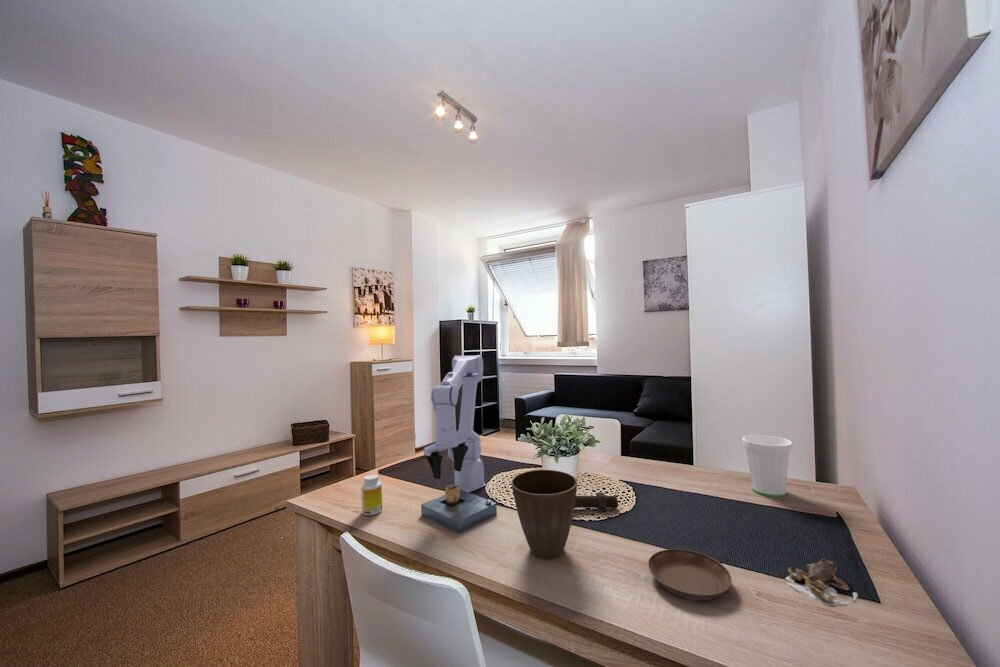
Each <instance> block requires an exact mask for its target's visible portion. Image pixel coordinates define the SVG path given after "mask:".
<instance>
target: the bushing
mask: <svg viewBox="0 0 1000 667" xmlns="http://www.w3.org/2000/svg"><path fill="white" fill-rule="evenodd" d="M444 492H445V494H444V495H445V499H446V505H448V506H450V507H453V506H455V505H458V504H460V494H459V486H458V485H455V484H449V485H447V486H445V488H444Z"/></svg>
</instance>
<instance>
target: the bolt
mask: <svg viewBox="0 0 1000 667" xmlns="http://www.w3.org/2000/svg"><path fill="white" fill-rule="evenodd" d="M618 507H619V499H618V497H617V496H616V495H605V493H604V492H601V491H599V492H597V493H596V494H595V495H576V499H575V507H574V509H577V508H578V509H580V508H581V509H582V508H587V509H590V508H591V509H597V510H598V511H599V512H605V511H606V510H607V509H608V508H610V509H617V508H618Z"/></svg>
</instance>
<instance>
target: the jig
mask: <svg viewBox="0 0 1000 667" xmlns="http://www.w3.org/2000/svg"><path fill="white" fill-rule="evenodd" d="M459 494H460V504H458V505H455V506H453V507H450V506H448V505H446V499H445V494H444V495H440V496H439V497H437V498H434V499H431V500H428V501H426V502H424V503H422V504H420V508H421V512H420V513H421V516H422V517H425V518H427V519H429V520H431V521H433V522H435V523H437V524H438V525H440V526H443V527H445V528H446V529H448V530H451V531H452V532H455V533H457V534H460V533H462V532H464V531H465V530H467V529H469V528H471V527H474V526H476V525H477V524H480V523H482V522H483V521H485V520H487V519H490V518H491V517H493V516H495V515H498V512H497V510H498V508H497V502H494V501H493V500H492V499H490V498H489V499H488V498H487V499H486V498H484V497H482V496H480V495H479V496H478V495H476V494H474V493H471V492H469V493H468V492H466V491H463V490H460V489H459Z"/></svg>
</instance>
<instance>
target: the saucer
mask: <svg viewBox="0 0 1000 667" xmlns="http://www.w3.org/2000/svg"><path fill="white" fill-rule="evenodd" d="M647 565H648V566H647V567H648V569H649V571H650V573H651V574H652V576H653V577H654V579H655V580H656V581H657V582H658V583H659V584H660V586H662V587H664V589H666V590H667V591H668V592H670V593H672V594H674V595H676V596H678V597H680V598H684V599H687V600H692V601H709V600H713V599H715V598H717V597H720V596H721V595H723V594H725V593H726V592H727V591H728V590H729V588H730V587H731V585H732V582H733V581H732V578H733V577H732V576H731V573H730V572H729V570H728V569H727V567H725V566H724V565H723V564H722V563H720V561H718V560H716V559H715V558H713V557H711V556H708V555H706V554H705V553H704V554H703V553H701V552H697V551H694V550H689V549H684V548H683V549H681V548H668V549H667V548H666V549H662V550H659V551H656V552H655V553H653V554H652V555H651V556H650V557H649V559H648V560H647Z"/></svg>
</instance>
